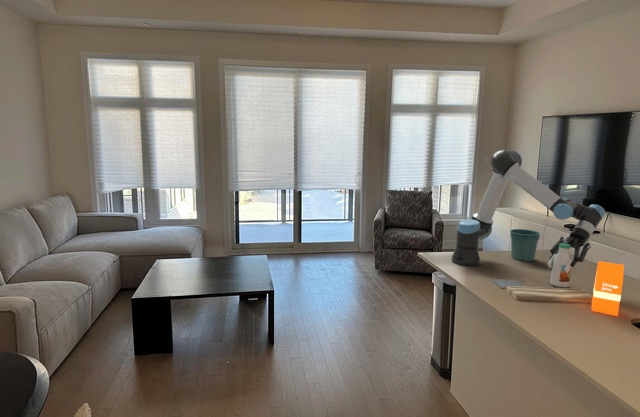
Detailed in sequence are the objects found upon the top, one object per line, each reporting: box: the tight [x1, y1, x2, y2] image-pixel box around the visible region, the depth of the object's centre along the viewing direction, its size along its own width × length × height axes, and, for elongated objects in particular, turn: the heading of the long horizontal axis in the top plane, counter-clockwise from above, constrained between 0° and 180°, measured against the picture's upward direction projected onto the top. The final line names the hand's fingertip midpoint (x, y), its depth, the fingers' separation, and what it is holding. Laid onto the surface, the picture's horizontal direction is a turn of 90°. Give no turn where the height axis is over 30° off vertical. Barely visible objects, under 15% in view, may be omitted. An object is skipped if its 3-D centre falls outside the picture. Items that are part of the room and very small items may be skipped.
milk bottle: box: [550, 243, 572, 288], centre depth 198 cm, size 8×8×20 cm
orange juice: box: [591, 260, 625, 316], centre depth 170 cm, size 8×9×20 cm
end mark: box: [491, 278, 526, 290], centre depth 200 cm, size 12×12×1 cm
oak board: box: [504, 285, 593, 304], centre depth 186 cm, size 12×34×2 cm, turn 89°
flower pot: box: [509, 228, 542, 262], centre depth 246 cm, size 16×16×16 cm
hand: (557, 268), depth 197 cm, fingers closed on milk bottle, 7 cm apart
